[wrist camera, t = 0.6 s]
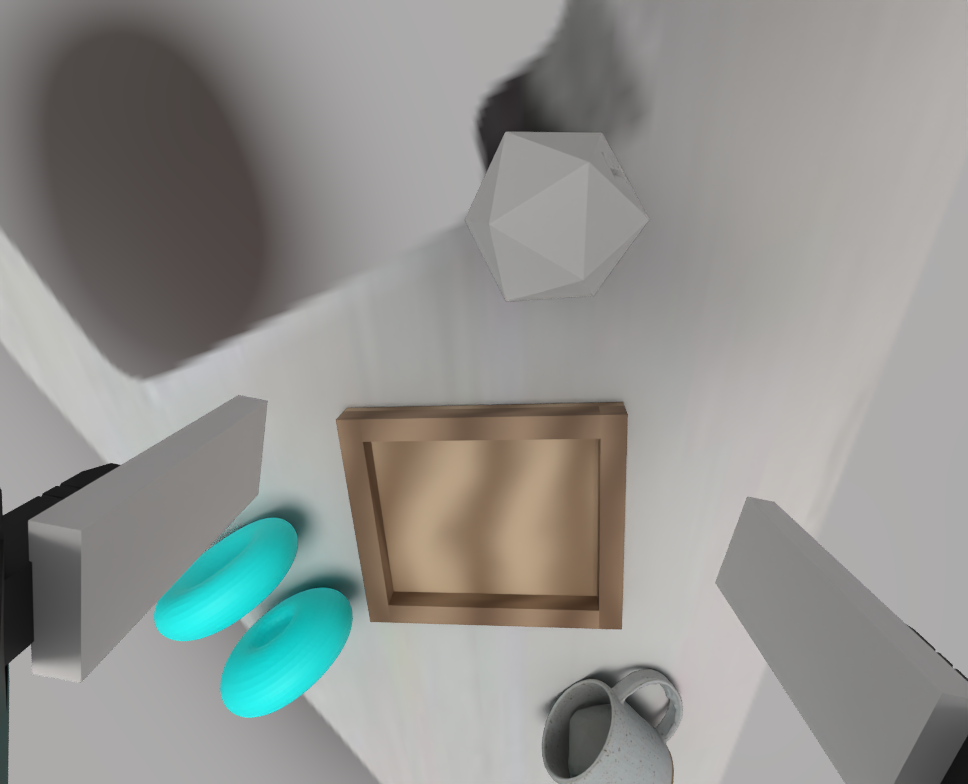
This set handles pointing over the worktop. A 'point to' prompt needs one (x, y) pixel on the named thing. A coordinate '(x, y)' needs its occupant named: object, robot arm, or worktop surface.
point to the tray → (489, 512)
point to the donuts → (276, 635)
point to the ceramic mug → (609, 734)
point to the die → (554, 214)
